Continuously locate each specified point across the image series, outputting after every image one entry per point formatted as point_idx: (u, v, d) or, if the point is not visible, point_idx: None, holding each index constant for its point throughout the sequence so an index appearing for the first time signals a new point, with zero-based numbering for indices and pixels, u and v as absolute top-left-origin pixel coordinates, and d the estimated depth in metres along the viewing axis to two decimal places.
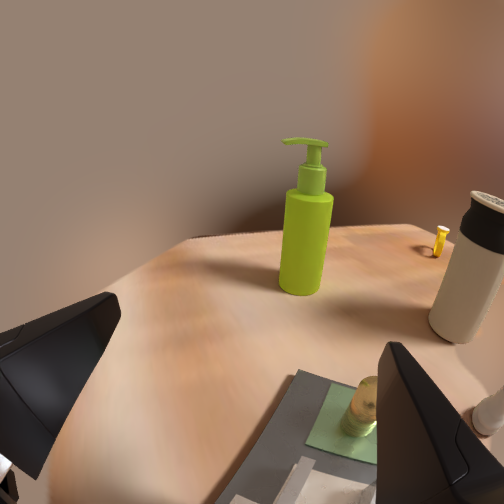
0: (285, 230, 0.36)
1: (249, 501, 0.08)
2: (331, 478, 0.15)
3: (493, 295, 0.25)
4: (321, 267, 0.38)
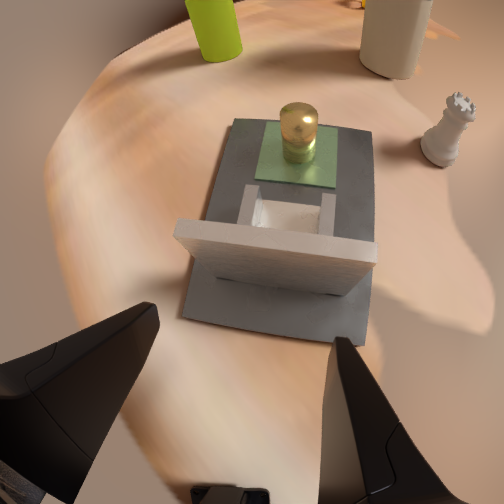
0: (189, 13, 0.26)
1: (188, 220, 0.14)
2: (286, 205, 0.23)
3: (420, 35, 0.22)
4: (236, 32, 0.30)
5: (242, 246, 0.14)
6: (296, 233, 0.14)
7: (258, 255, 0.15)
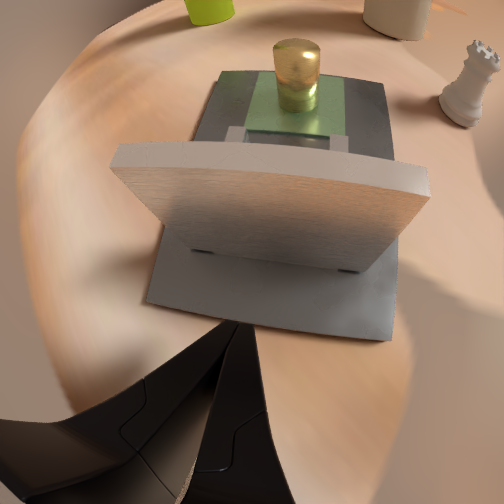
0: None
1: (133, 144, 0.09)
2: None
3: None
4: None
5: (207, 172, 0.08)
6: (296, 149, 0.08)
7: (236, 192, 0.09)
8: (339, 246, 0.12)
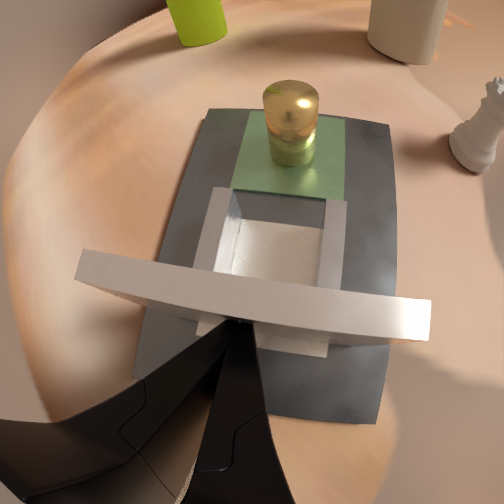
0: None
1: (96, 253, 0.08)
2: (272, 227, 0.17)
3: (441, 12, 0.15)
4: (219, 10, 0.23)
5: (176, 305, 0.07)
6: (278, 285, 0.07)
7: (212, 315, 0.08)
8: (327, 340, 0.11)
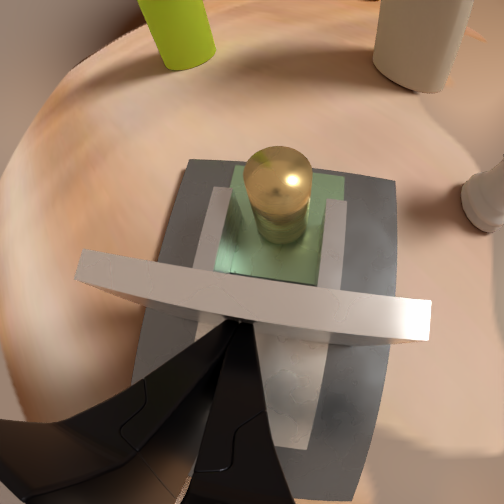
0: (140, 7, 0.18)
1: (96, 253, 0.08)
2: None
3: (459, 34, 0.13)
4: (205, 28, 0.22)
5: (175, 305, 0.07)
6: (278, 285, 0.07)
7: (212, 315, 0.08)
8: (328, 340, 0.11)
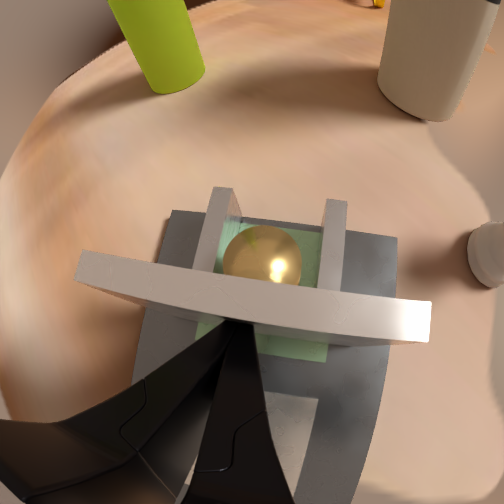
0: (120, 26, 0.17)
1: (96, 254, 0.08)
2: None
3: (477, 58, 0.12)
4: (192, 46, 0.20)
5: (175, 306, 0.07)
6: (277, 286, 0.07)
7: (211, 316, 0.08)
8: (327, 341, 0.11)
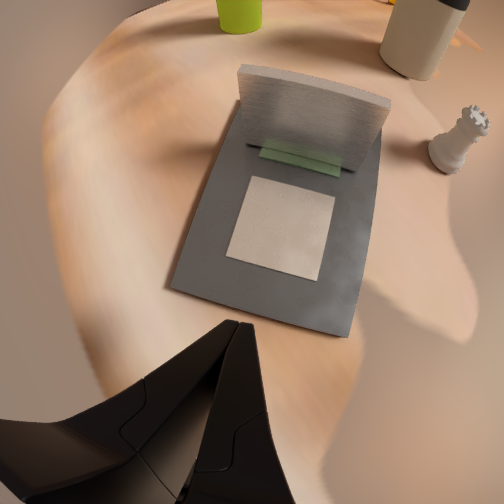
0: None
1: (251, 65, 0.16)
2: (287, 187, 0.23)
3: (445, 42, 0.20)
4: (259, 6, 0.27)
5: (291, 83, 0.16)
6: (332, 82, 0.15)
7: (300, 97, 0.17)
8: (344, 143, 0.20)
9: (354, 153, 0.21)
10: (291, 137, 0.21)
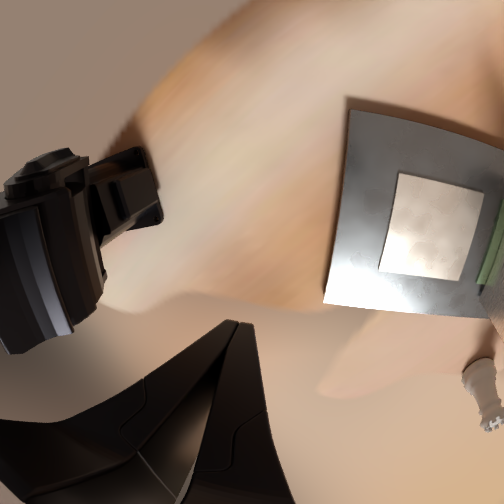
0: None
1: None
2: (471, 233, 0.16)
3: None
4: None
5: None
6: None
7: None
8: None
9: (494, 308, 0.15)
10: None
